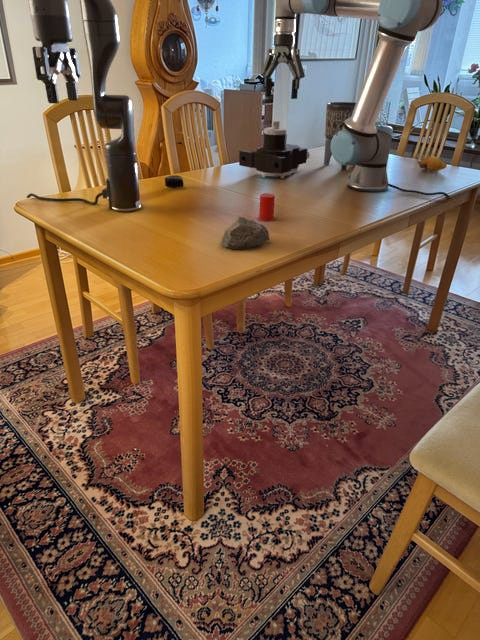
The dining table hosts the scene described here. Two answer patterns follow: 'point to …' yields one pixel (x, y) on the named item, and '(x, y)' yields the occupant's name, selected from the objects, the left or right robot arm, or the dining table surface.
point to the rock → (245, 234)
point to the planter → (336, 124)
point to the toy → (432, 164)
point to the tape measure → (174, 181)
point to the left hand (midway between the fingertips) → (64, 101)
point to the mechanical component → (274, 154)
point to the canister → (266, 207)
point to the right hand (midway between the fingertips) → (280, 97)
